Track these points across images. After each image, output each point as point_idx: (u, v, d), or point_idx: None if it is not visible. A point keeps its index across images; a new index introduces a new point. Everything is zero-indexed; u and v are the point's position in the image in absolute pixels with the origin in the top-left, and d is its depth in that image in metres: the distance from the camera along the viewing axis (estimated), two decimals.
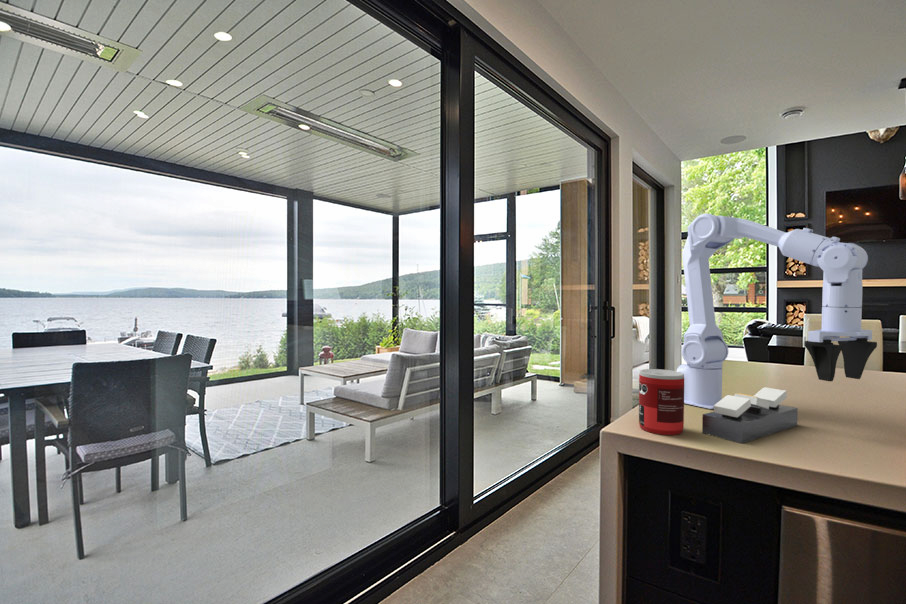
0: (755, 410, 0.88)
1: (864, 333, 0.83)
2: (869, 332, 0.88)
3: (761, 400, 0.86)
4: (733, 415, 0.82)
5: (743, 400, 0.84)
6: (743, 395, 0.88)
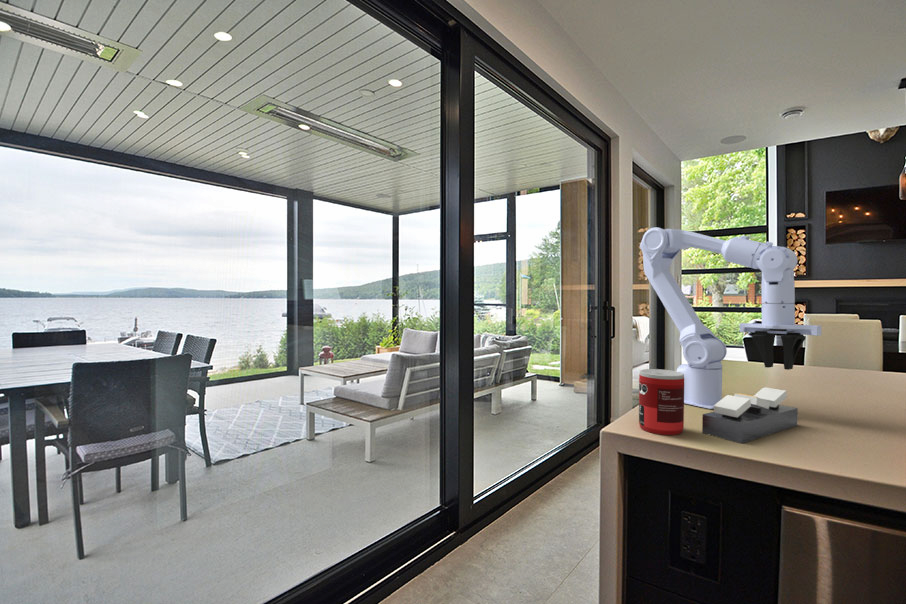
0: (755, 410, 0.88)
1: (767, 325, 0.95)
2: (811, 327, 0.91)
3: (761, 400, 0.86)
4: (733, 415, 0.82)
5: (743, 400, 0.84)
6: (743, 395, 0.88)
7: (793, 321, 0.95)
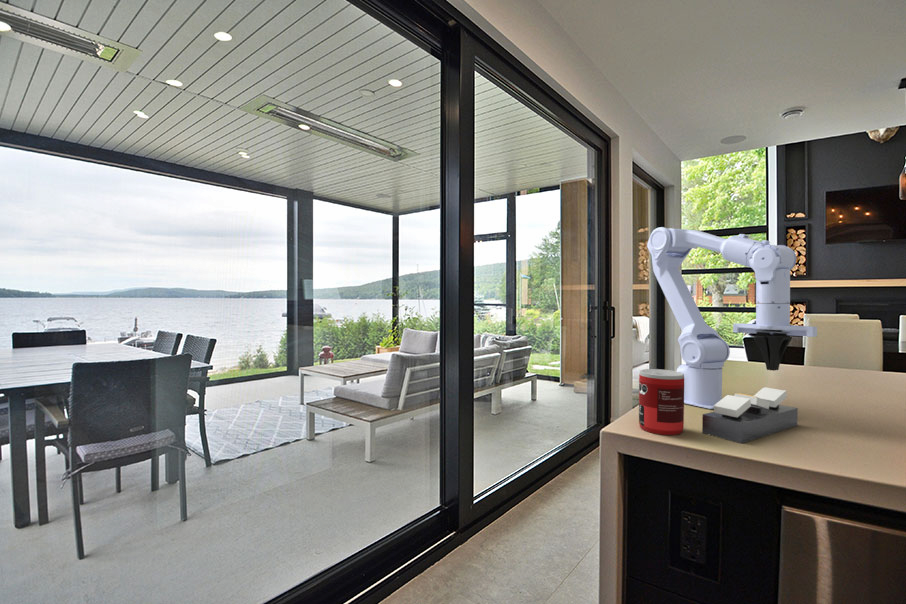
0: (755, 410, 0.88)
1: (761, 326, 0.93)
2: (806, 328, 0.89)
3: (761, 400, 0.86)
4: (733, 415, 0.82)
5: (743, 400, 0.84)
6: (743, 395, 0.88)
7: (788, 322, 0.92)
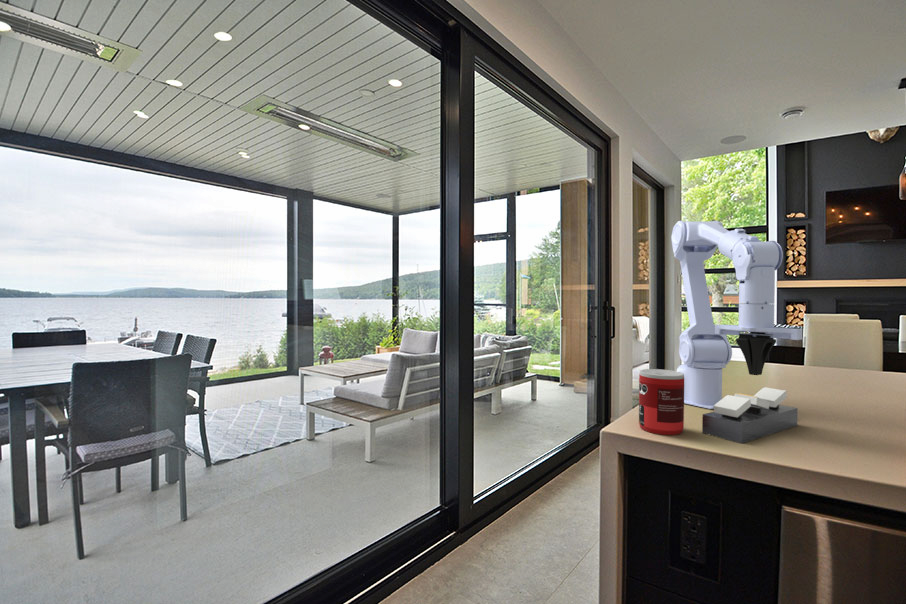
0: (755, 410, 0.88)
1: (743, 328, 0.87)
2: (791, 331, 0.83)
3: (761, 400, 0.86)
4: (733, 415, 0.82)
5: (743, 400, 0.84)
6: (743, 395, 0.88)
7: (772, 323, 0.86)
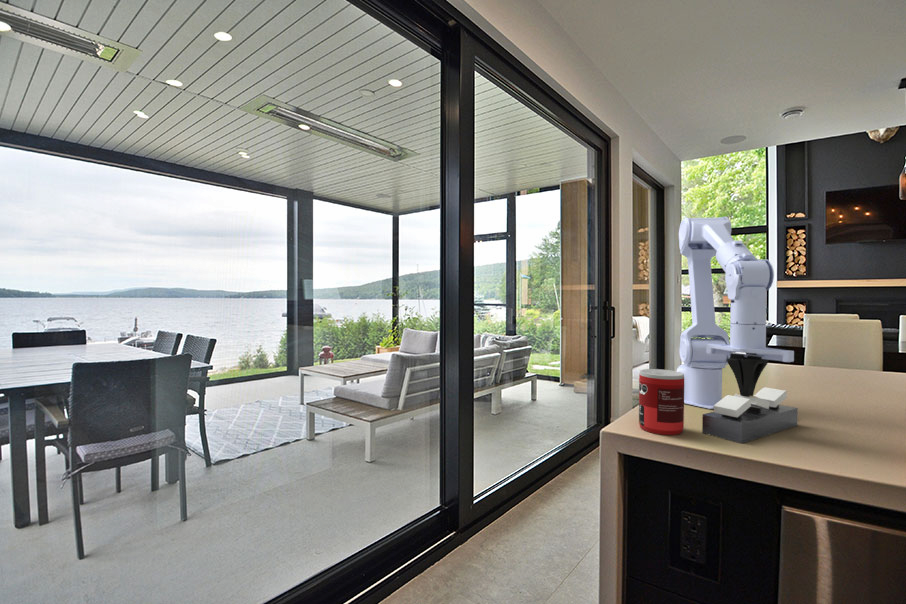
0: (755, 410, 0.88)
1: (734, 349, 0.85)
2: (782, 353, 0.81)
3: (761, 400, 0.86)
4: (733, 415, 0.82)
5: (743, 400, 0.84)
6: None
7: (763, 344, 0.85)
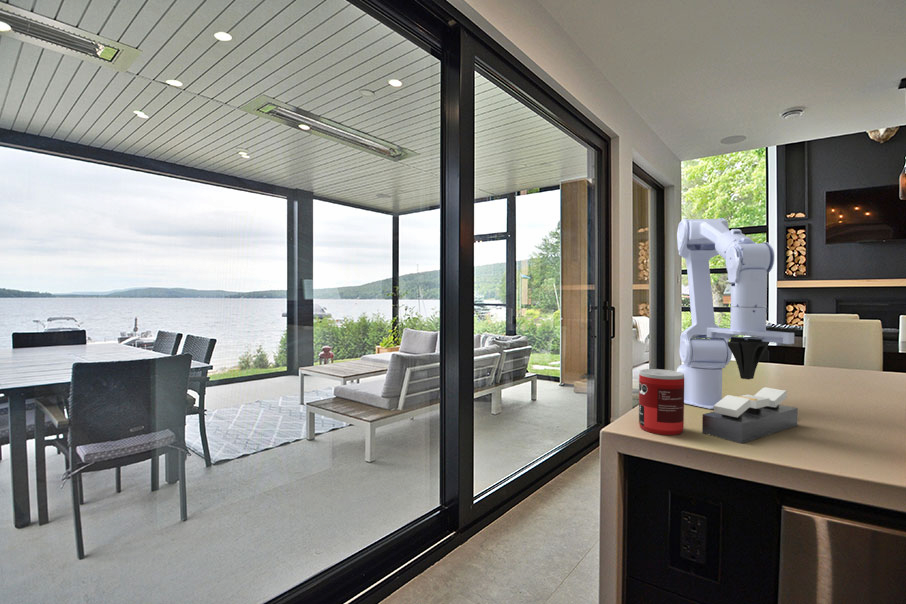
0: (755, 410, 0.88)
1: (734, 331, 0.85)
2: (782, 335, 0.81)
3: (761, 401, 0.86)
4: (733, 415, 0.82)
5: (743, 400, 0.84)
6: None
7: (764, 327, 0.85)
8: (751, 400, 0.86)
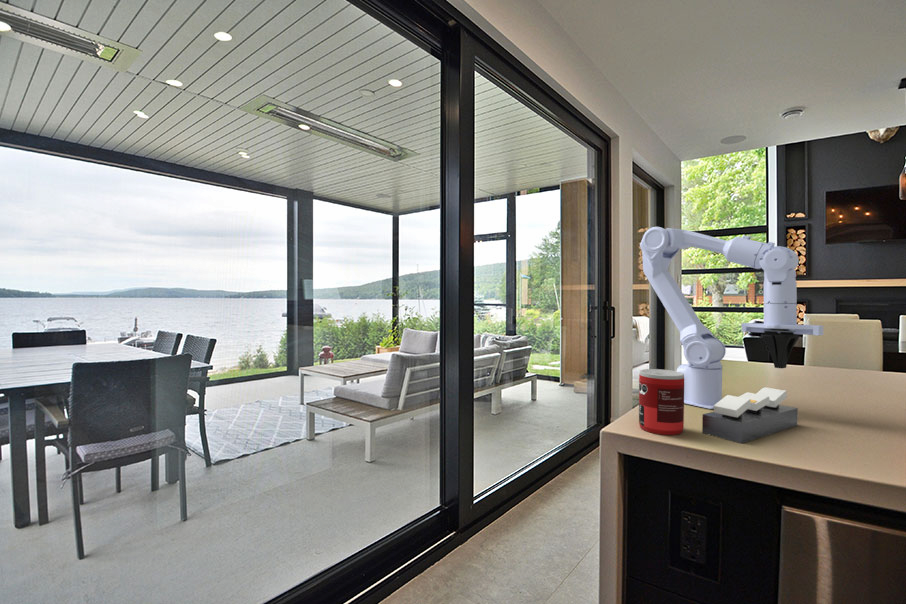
0: None
1: (769, 325, 0.96)
2: (813, 327, 0.92)
3: (760, 402, 0.86)
4: (733, 415, 0.82)
5: (743, 400, 0.84)
6: None
7: (795, 321, 0.95)
8: (751, 402, 0.86)
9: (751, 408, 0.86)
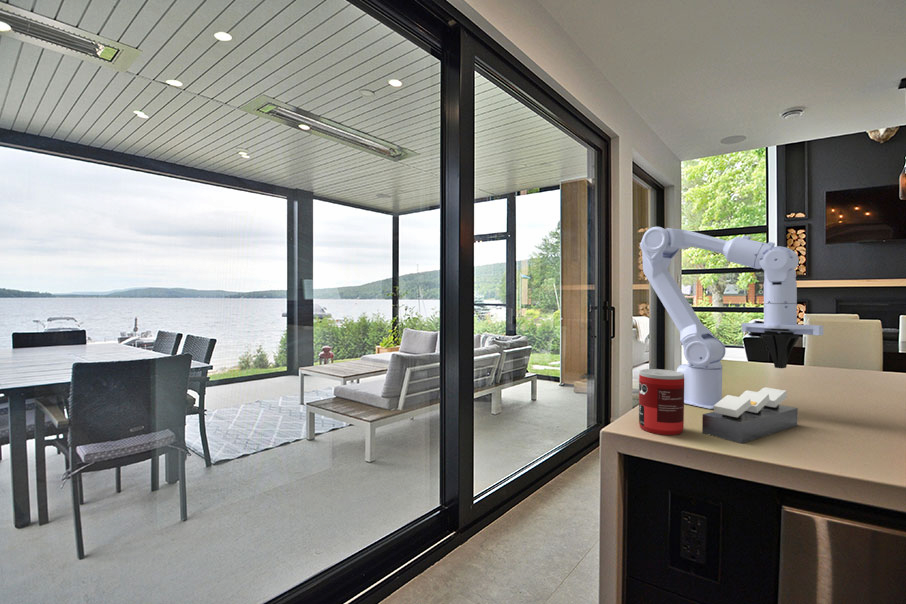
0: None
1: (769, 325, 0.96)
2: (813, 327, 0.92)
3: (760, 403, 0.86)
4: (733, 415, 0.82)
5: (743, 400, 0.84)
6: None
7: (795, 321, 0.95)
8: (751, 405, 0.86)
9: (752, 410, 0.86)
